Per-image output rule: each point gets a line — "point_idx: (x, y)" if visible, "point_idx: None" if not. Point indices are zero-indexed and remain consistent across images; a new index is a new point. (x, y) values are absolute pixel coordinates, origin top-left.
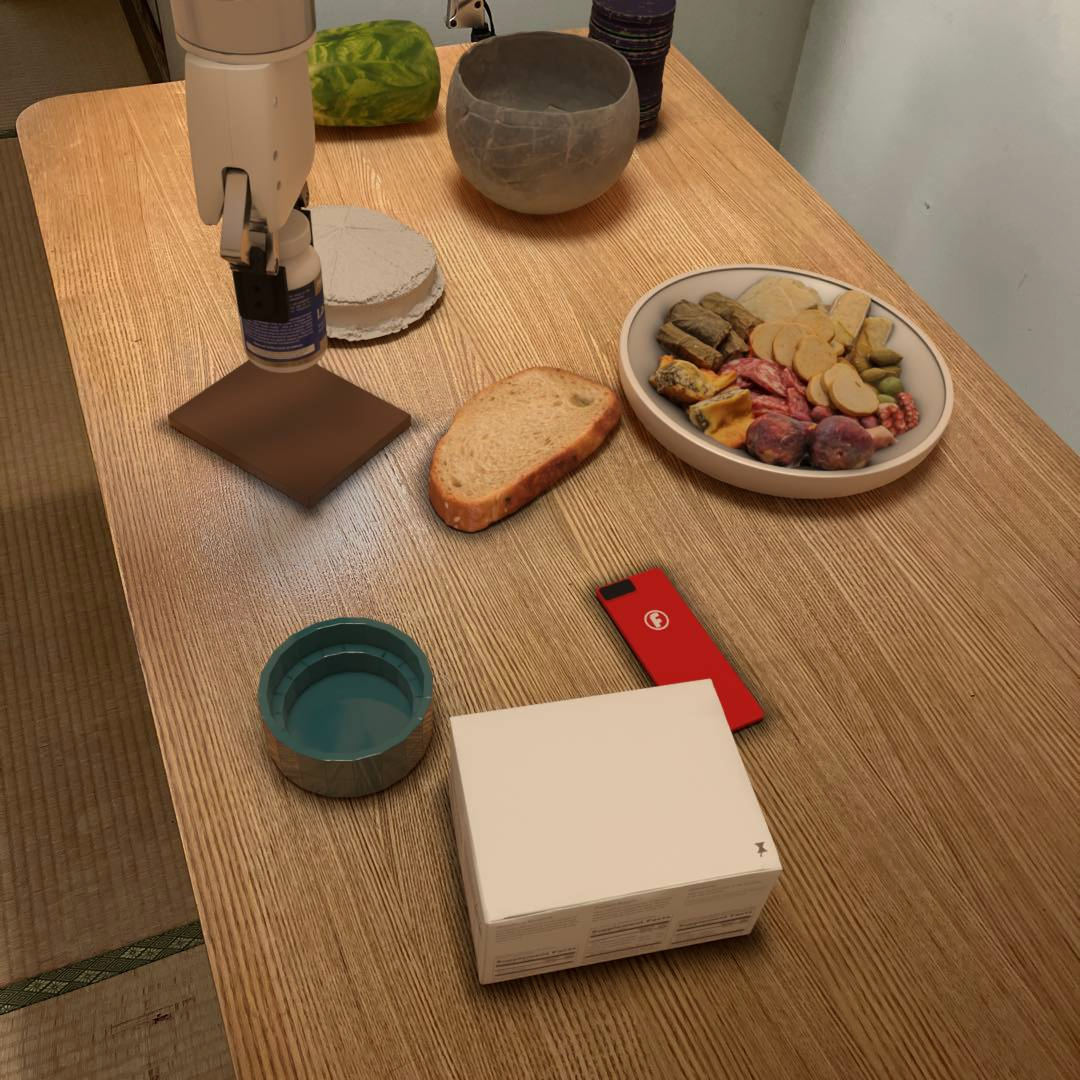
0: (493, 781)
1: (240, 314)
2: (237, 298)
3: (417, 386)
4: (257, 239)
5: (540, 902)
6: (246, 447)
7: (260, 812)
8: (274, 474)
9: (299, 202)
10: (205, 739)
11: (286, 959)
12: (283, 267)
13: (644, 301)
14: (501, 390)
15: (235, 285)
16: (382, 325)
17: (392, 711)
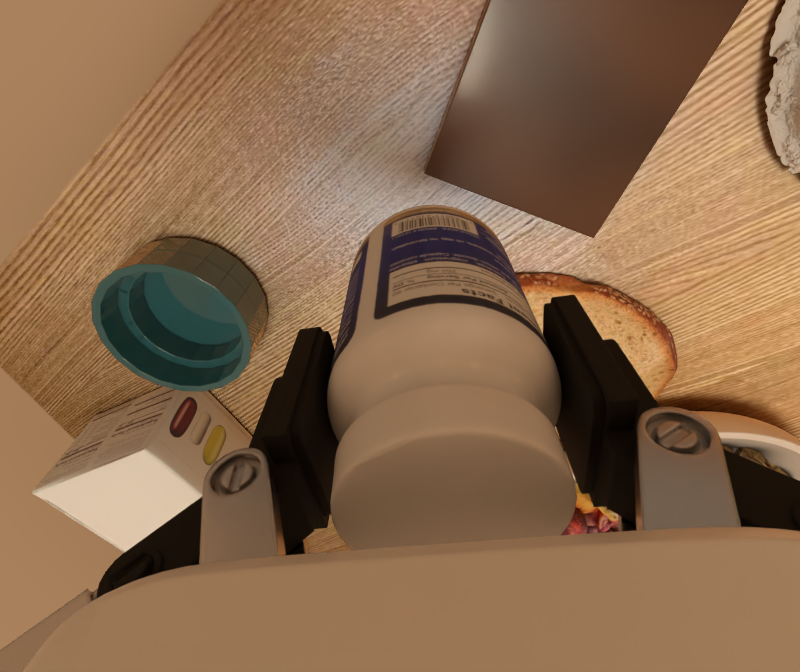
0: (115, 481)
1: (300, 331)
2: (290, 359)
3: (663, 216)
4: (349, 514)
5: (66, 510)
6: (496, 43)
7: (93, 263)
8: (453, 111)
9: (620, 518)
10: (115, 190)
11: (23, 319)
12: (321, 525)
13: (772, 443)
14: (632, 329)
15: (281, 385)
16: (794, 142)
17: (225, 327)
